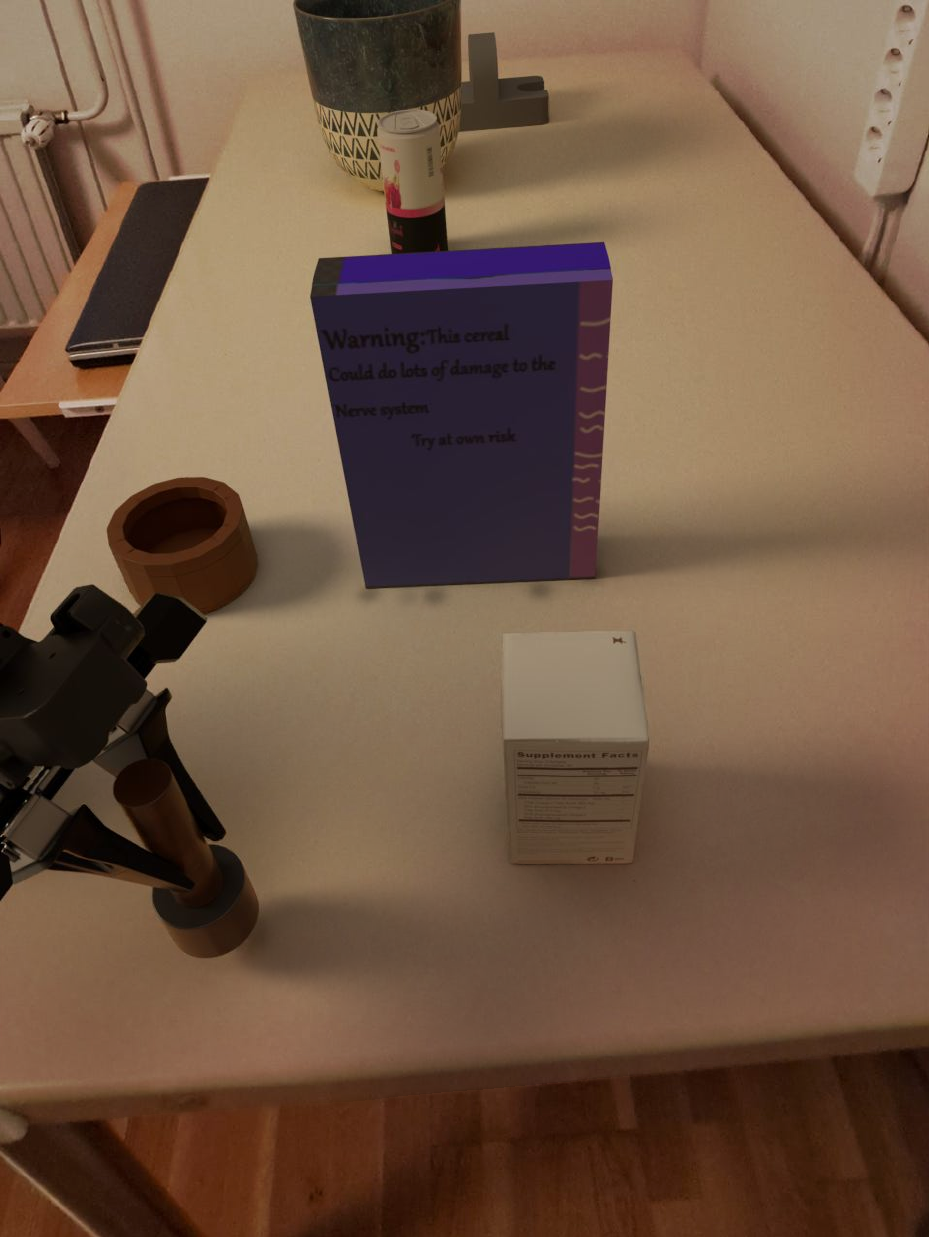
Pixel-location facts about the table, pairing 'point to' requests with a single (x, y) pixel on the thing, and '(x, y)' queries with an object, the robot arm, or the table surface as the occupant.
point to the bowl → (184, 542)
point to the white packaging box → (572, 746)
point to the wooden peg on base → (187, 864)
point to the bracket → (498, 92)
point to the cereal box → (469, 409)
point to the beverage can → (413, 181)
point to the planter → (380, 72)
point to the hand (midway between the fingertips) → (206, 863)
